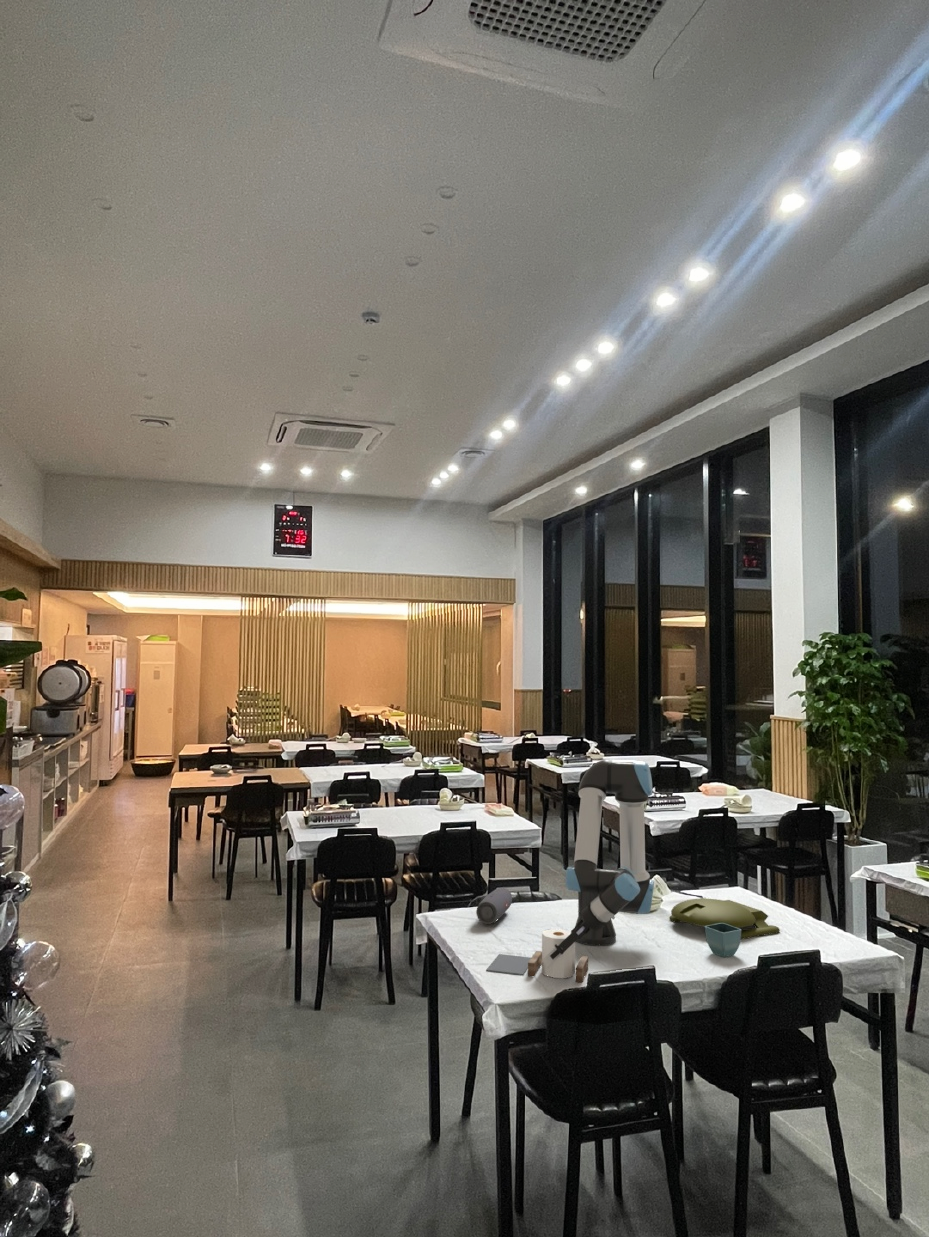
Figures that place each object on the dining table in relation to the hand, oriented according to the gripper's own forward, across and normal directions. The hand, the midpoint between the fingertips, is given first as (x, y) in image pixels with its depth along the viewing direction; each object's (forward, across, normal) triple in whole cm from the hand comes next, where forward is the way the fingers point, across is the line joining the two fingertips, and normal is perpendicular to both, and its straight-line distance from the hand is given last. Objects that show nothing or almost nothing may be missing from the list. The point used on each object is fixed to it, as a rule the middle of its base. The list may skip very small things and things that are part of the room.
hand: (550, 957), depth 258 cm
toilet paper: (+2, 0, -5) cm, 5 cm away
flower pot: (-32, +40, -38) cm, 64 cm away
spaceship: (-28, +73, -35) cm, 85 cm away
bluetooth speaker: (+29, +47, +22) cm, 59 cm away
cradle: (+1, 0, -5) cm, 5 cm away
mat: (+13, +1, +6) cm, 14 cm away
